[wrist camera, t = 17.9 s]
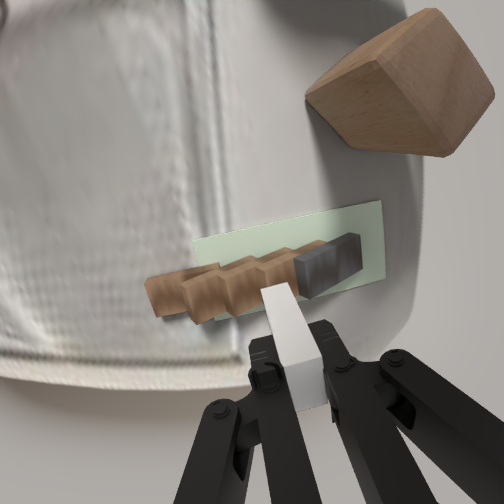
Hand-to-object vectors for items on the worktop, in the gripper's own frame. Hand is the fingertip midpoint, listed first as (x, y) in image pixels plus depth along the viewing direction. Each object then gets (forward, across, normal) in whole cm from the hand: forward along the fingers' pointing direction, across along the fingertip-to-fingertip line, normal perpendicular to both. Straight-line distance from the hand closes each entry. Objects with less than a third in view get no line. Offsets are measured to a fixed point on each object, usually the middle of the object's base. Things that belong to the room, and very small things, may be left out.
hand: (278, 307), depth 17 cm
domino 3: (+23, +9, -8) cm, 26 cm away
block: (+25, +17, +12) cm, 32 cm away
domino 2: (+23, +4, -8) cm, 24 cm away
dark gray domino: (+23, +13, -8) cm, 28 cm away
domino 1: (+23, 0, -8) cm, 24 cm away
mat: (+24, +5, -8) cm, 26 cm away
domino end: (+23, -5, -8) cm, 24 cm away
